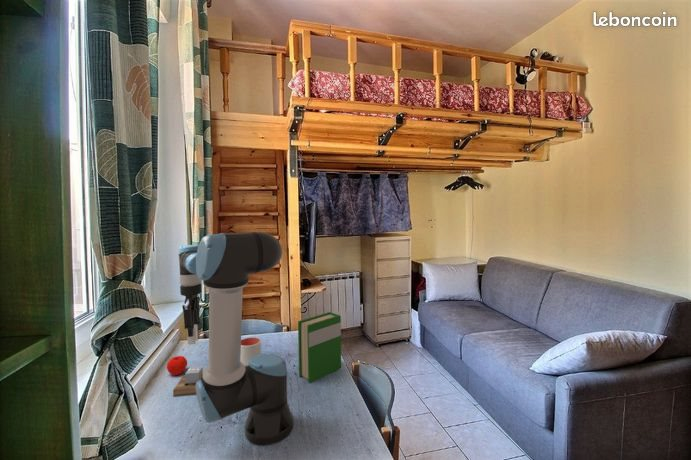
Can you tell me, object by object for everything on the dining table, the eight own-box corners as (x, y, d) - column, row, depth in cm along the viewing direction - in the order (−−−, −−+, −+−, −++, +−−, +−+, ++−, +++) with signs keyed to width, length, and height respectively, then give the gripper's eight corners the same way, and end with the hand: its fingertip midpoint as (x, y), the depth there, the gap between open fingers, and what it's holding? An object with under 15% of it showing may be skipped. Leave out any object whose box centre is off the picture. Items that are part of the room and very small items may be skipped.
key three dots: (199, 382, 123) (198, 372, 123) (185, 383, 123) (185, 373, 122) (202, 375, 128) (202, 365, 128) (189, 377, 127) (189, 367, 127)
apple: (181, 367, 142) (180, 351, 142) (191, 371, 138) (191, 355, 138) (163, 375, 135) (162, 358, 135) (173, 380, 131) (173, 362, 131)
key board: (249, 389, 123) (248, 383, 123) (173, 396, 119) (173, 390, 119) (253, 375, 134) (252, 369, 134) (183, 381, 130) (183, 375, 130)
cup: (264, 357, 151) (263, 337, 150) (256, 368, 141) (255, 346, 140) (244, 357, 152) (243, 337, 151) (235, 367, 142) (234, 345, 141)
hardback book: (309, 383, 127) (308, 325, 126) (299, 376, 133) (298, 321, 132) (341, 368, 140) (340, 315, 138) (330, 362, 145) (329, 311, 144)
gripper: (194, 288, 116) (196, 349, 117) (206, 279, 132) (208, 334, 133) (172, 289, 115) (175, 351, 116) (187, 280, 131) (189, 335, 132)
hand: (193, 342), depth 125 cm, fingers open, 3 cm apart
